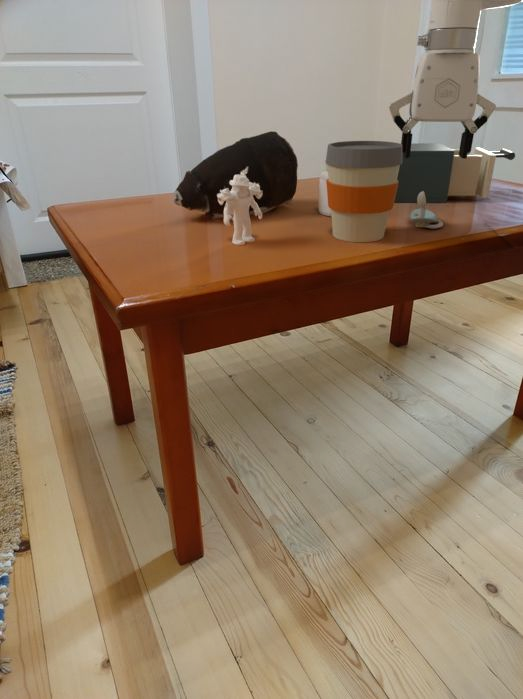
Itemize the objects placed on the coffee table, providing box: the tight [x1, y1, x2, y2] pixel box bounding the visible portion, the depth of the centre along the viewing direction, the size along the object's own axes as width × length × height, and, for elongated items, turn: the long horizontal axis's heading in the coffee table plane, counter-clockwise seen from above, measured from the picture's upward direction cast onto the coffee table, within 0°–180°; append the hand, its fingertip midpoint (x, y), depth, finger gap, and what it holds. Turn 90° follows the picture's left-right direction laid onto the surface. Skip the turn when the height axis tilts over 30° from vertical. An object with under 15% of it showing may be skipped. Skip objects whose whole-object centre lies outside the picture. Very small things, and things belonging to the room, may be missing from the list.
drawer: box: [448, 147, 516, 199], centre depth 115 cm, size 20×13×9 cm, turn 84°
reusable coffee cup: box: [325, 140, 402, 243], centre depth 87 cm, size 13×13×15 cm
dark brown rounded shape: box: [172, 130, 299, 220], centre depth 104 cm, size 15×15×25 cm
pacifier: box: [409, 191, 444, 230], centre depth 93 cm, size 7×6×6 cm
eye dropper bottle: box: [317, 158, 331, 217], centre depth 102 cm, size 4×6×12 cm
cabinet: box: [394, 142, 454, 204], centre depth 116 cm, size 16×14×11 cm
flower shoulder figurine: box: [217, 167, 263, 246], centre depth 85 cm, size 9×4×12 cm, turn 135°
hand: (434, 157), depth 89 cm, fingers open, 9 cm apart
